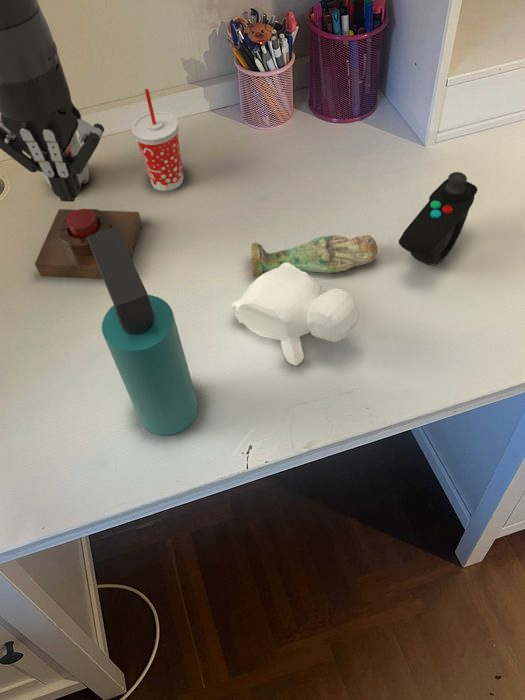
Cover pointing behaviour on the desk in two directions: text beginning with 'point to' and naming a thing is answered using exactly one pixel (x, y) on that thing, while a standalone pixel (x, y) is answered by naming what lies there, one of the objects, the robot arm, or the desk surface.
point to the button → (82, 223)
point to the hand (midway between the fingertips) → (70, 196)
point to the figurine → (318, 255)
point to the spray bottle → (144, 341)
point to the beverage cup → (159, 147)
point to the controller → (440, 220)
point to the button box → (82, 244)
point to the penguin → (295, 310)
